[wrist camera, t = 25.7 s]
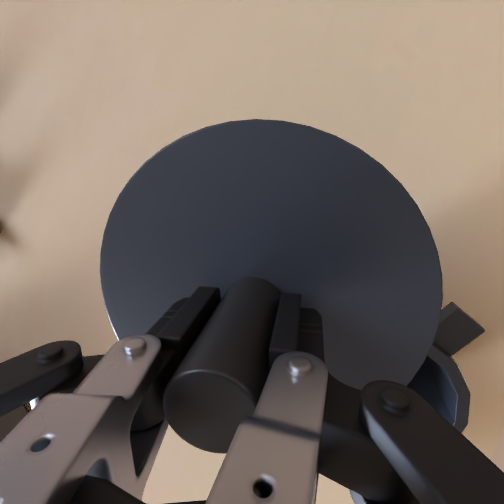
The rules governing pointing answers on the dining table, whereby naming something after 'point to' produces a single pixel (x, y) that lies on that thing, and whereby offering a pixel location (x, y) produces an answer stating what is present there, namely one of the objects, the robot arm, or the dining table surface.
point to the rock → (11, 421)
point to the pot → (447, 367)
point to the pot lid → (270, 263)
